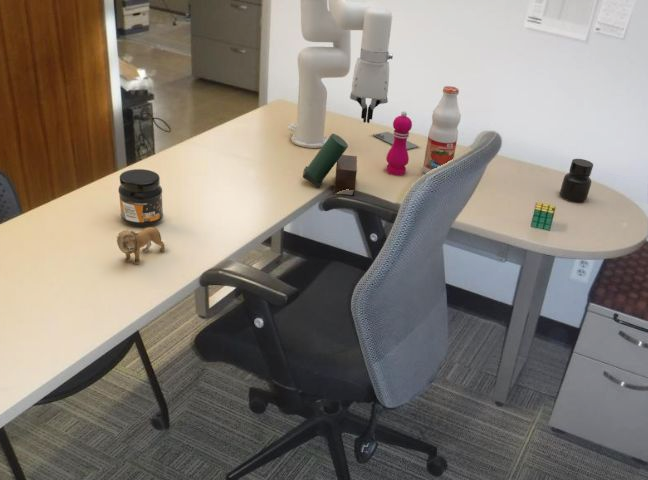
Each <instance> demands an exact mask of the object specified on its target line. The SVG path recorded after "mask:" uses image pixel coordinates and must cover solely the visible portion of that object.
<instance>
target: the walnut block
mask: <svg viewBox="0 0 648 480" xmlns="http://www.w3.org/2000/svg"><path fill="white" fill-rule="evenodd" d="M335 165H336V166H335V174H334V175H335V177H334V187H333V194H334V195H336V194H335V193H337V192H339V191H342V190H346V189H349V190H356V182H357V172H358V156H357V155H348V154H342V155H341V157H340V158H339V159H338V161H337V162H336V163H335Z"/></svg>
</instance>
